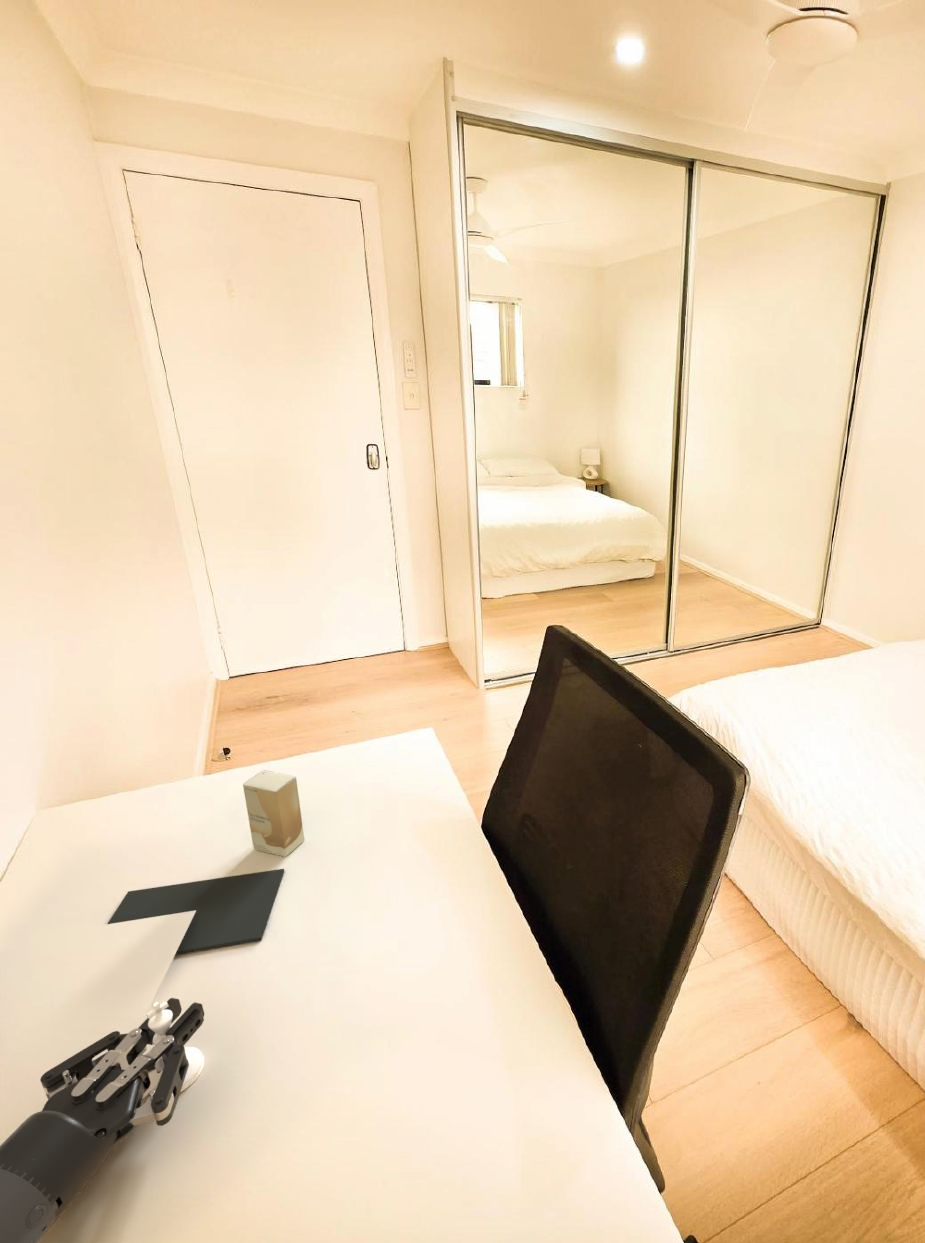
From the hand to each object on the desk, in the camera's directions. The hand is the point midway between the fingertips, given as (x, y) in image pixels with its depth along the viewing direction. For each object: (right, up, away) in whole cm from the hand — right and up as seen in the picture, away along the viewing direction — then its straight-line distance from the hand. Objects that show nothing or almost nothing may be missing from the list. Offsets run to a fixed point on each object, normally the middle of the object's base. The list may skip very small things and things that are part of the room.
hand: (188, 1006), depth 65 cm
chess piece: (-1, -7, -1) cm, 7 cm away
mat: (-13, +1, +19) cm, 22 cm away
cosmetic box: (-8, +5, +32) cm, 34 cm away
